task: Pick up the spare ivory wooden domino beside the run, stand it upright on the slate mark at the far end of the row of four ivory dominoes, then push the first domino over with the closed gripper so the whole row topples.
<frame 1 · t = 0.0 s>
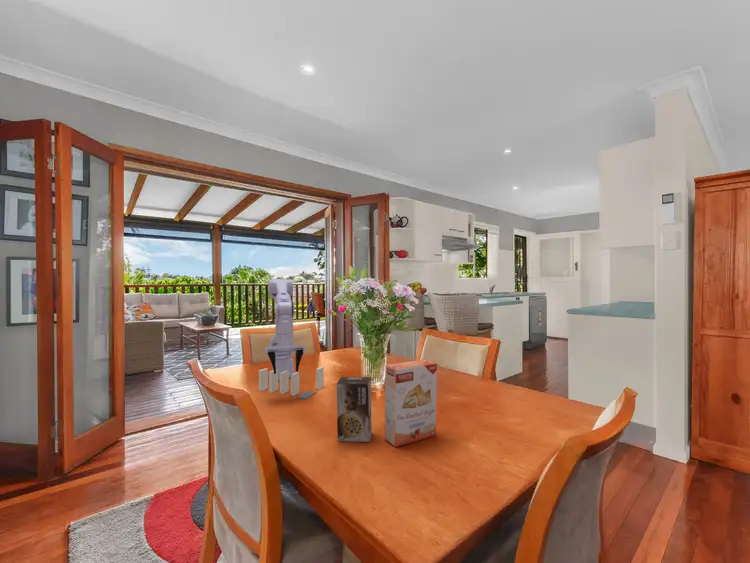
hand: (286, 372, 126), 11 cm above the table, tool pointing down, fingers open, 7 cm apart
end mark: (306, 395, 133), on the table
domino 5: (319, 387, 142), on the table
domino 1: (263, 389, 140), on the table
domino 2: (273, 390, 138), on the table
cracker box: (411, 438, 98), on the table
domino 3: (284, 392, 137), on the table
domino 4: (295, 394, 135), on the table
dark brown upright box: (354, 437, 99), on the table
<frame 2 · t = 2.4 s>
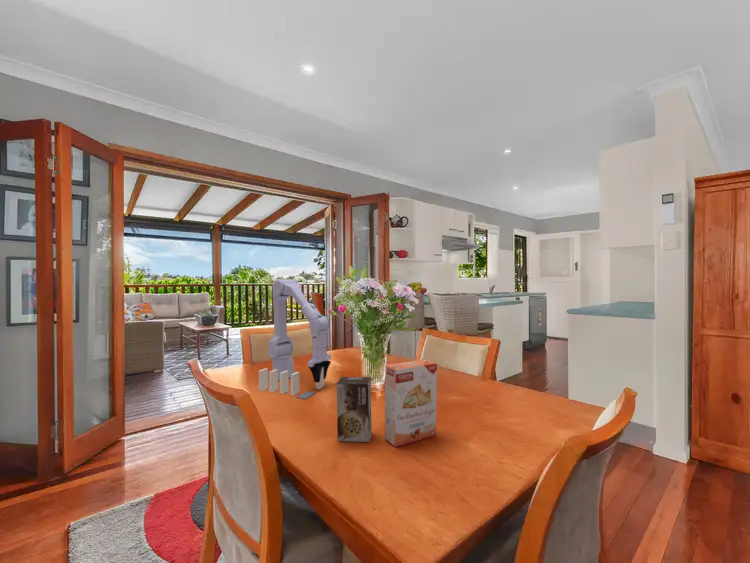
hand: (319, 380, 142), 3 cm above the table, tool pointing down, fingers closed on domino 5, 4 cm apart
domino 5: (320, 387, 142), on the table, touching gripper
everything else where it was.
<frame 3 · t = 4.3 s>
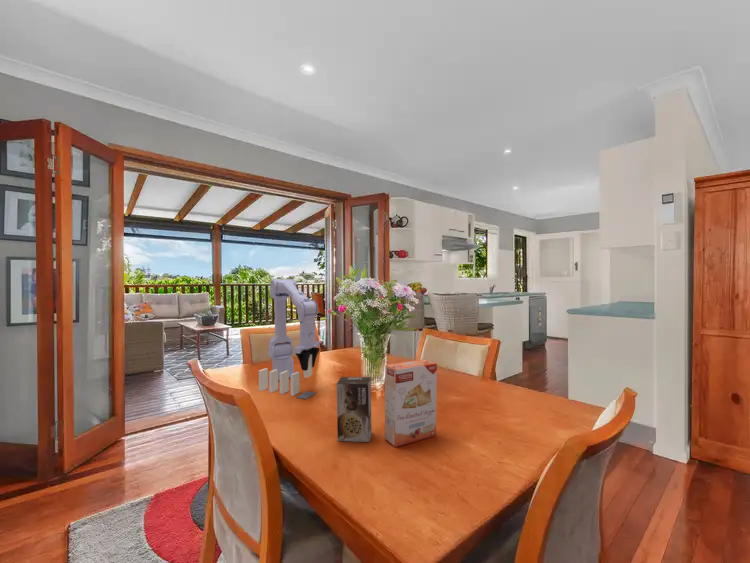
hand: (307, 368, 134), 10 cm above the table, tool pointing down, fingers closed on domino 5, 4 cm apart
domino 5: (308, 376, 134), point 7 cm above the table, touching gripper
everything else where it was.
when the fingers open (4 cm above the table, at t = 6.3 s): domino 5 stays where it is, resting on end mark.
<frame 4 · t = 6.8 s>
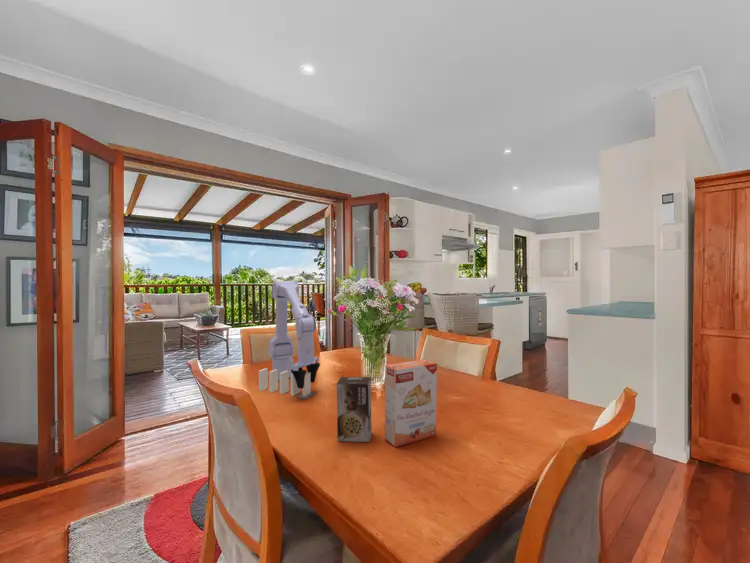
hand: (306, 385, 133), 4 cm above the table, tool pointing down, fingers open, 7 cm apart
domino 5: (306, 394, 133), resting on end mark
everything else where it was.
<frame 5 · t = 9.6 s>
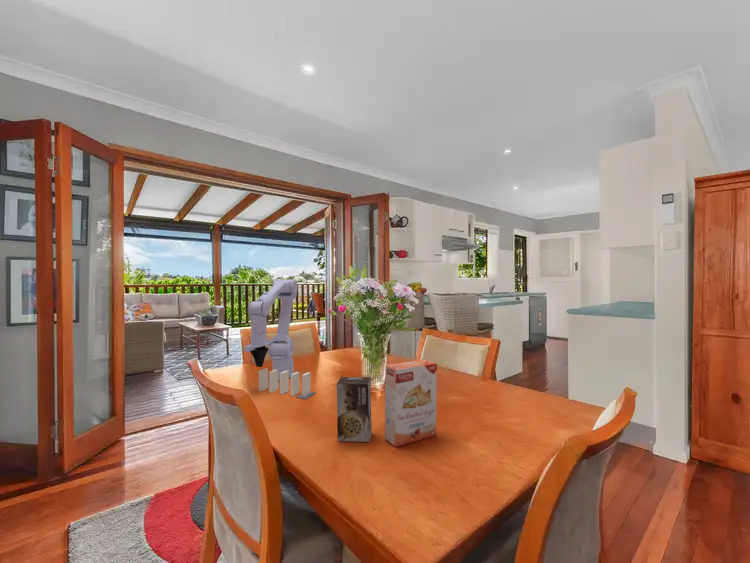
hand: (259, 366, 138), 10 cm above the table, tool pointing down, fingers closed
nothing on the table moved.
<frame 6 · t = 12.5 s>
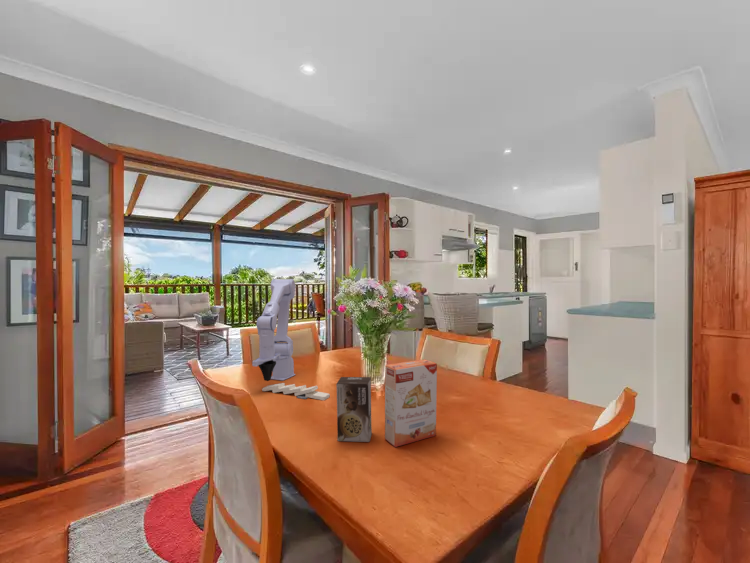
hand: (267, 380, 139), 4 cm above the table, tool pointing down, fingers closed
domino 5: (308, 393, 132), point 1 cm above the table, tilted 93°, touching domino 4, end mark
domino 1: (265, 388, 140), point 1 cm above the table, tilted 76°, touching domino 2
domino 2: (275, 389, 138), point 1 cm above the table, tilted 75°, touching domino 1, domino 3
domino 3: (286, 391, 136), point 1 cm above the table, tilted 75°, touching domino 2, domino 4
domino 4: (297, 392, 134), point 1 cm above the table, tilted 71°, touching domino 3, domino 5
everything else where it was.
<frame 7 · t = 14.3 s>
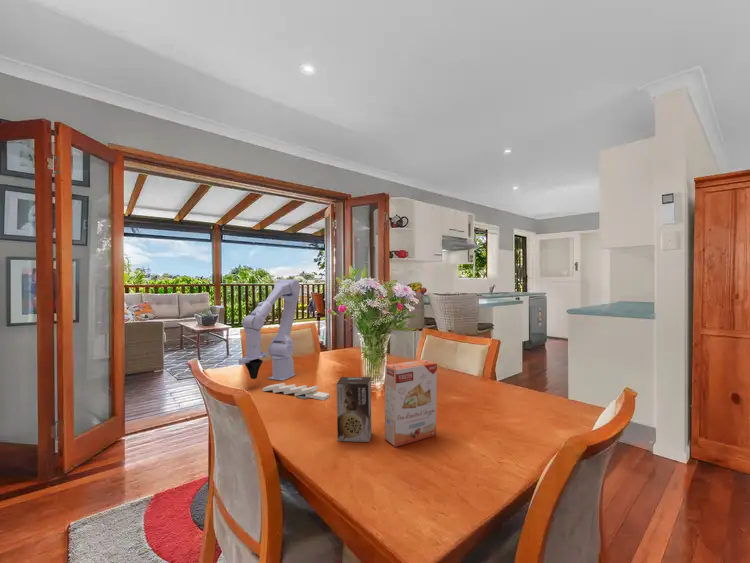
hand: (253, 378, 142), 4 cm above the table, tool pointing down, fingers closed
nothing on the table moved.
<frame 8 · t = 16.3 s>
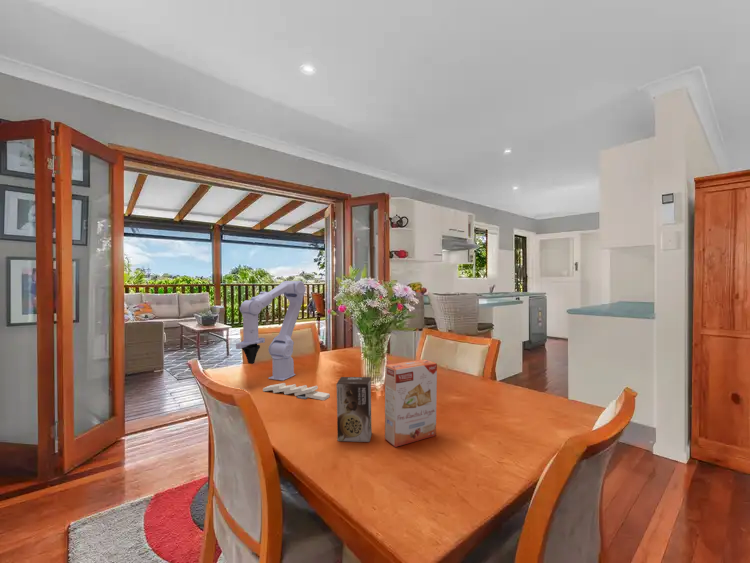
hand: (251, 363, 142), 10 cm above the table, tool pointing down, fingers closed
nothing on the table moved.
at the end: domino 5 tilted 92°; domino 3 tilted 73°; domino 5 inside the target area (1.5 cm from its centre), point 0.9 cm above the table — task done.
